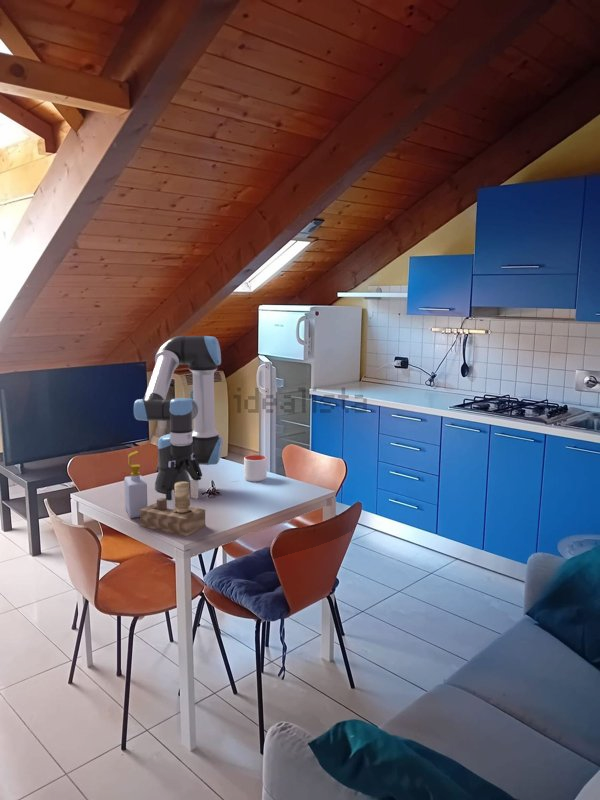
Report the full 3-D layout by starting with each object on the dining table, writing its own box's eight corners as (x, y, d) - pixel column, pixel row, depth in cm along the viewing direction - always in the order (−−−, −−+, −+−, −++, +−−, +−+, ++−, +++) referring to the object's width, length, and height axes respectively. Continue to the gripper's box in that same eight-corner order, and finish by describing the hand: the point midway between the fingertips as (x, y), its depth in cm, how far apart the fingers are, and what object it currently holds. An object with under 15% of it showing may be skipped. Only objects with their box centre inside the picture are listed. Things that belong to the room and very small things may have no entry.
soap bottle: (148, 516, 229) (146, 454, 225) (129, 518, 226) (127, 456, 222) (142, 506, 240) (140, 447, 236) (125, 508, 237) (123, 448, 233)
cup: (265, 482, 273) (265, 460, 271) (243, 482, 273) (242, 460, 271) (267, 476, 283) (267, 455, 281) (245, 476, 283) (245, 454, 281)
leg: (184, 528, 214) (183, 485, 212) (173, 526, 216) (171, 484, 214) (193, 523, 218) (191, 482, 216) (182, 522, 221) (180, 481, 219)
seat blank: (140, 526, 219) (139, 501, 217) (160, 516, 229) (160, 493, 227) (186, 536, 210) (186, 510, 209) (205, 525, 220) (205, 501, 218)
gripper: (167, 452, 200) (169, 515, 203) (211, 437, 222) (212, 494, 225) (149, 449, 203) (150, 511, 207) (194, 435, 225) (195, 491, 229)
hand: (182, 503), depth 216 cm, fingers open, 13 cm apart
